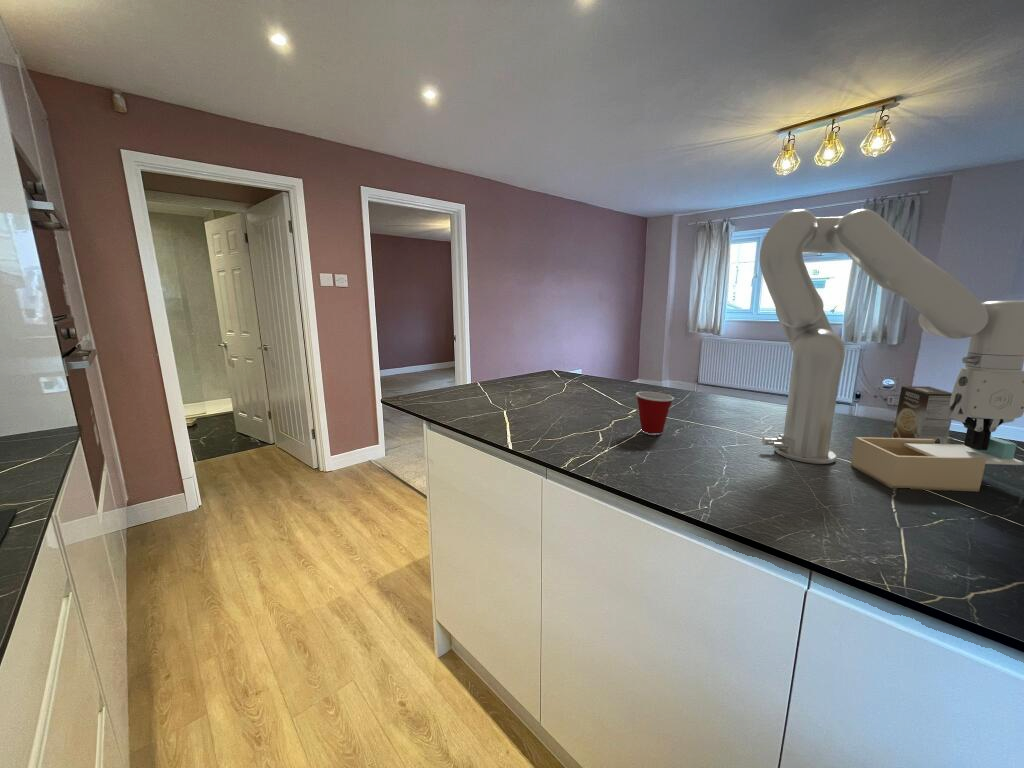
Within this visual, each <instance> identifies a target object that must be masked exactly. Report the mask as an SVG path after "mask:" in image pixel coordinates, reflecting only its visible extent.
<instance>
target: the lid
mask: <svg viewBox="0 0 1024 768" xmlns="http://www.w3.org/2000/svg"><path fill="white" fill-rule="evenodd" d="M904 446H906V447H908V448H911V449H913V450H916V451H918V452H920V453H923V454H925V455H927V456H932V457H968V458H985V459H986V463H985V465H1006V466H1007V465H1009V466H1010V465H1011V466H1013V465H1015V466H1023V465H1024V461H1022V460H1019V459H1016V458H1014V457H1015V453H1016V449H1017V443H1013V442H1011V441H1008V440H1005V439H1001V438H998V437H995V436H992V435H991V436H990V441H989V445H988V449H987V450H976V449H973V448H970V447H967V446H965V445H964V443H963V444H961V443H960V444H958V443H957V444H954V443H946V444H923V443H904Z"/></svg>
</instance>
